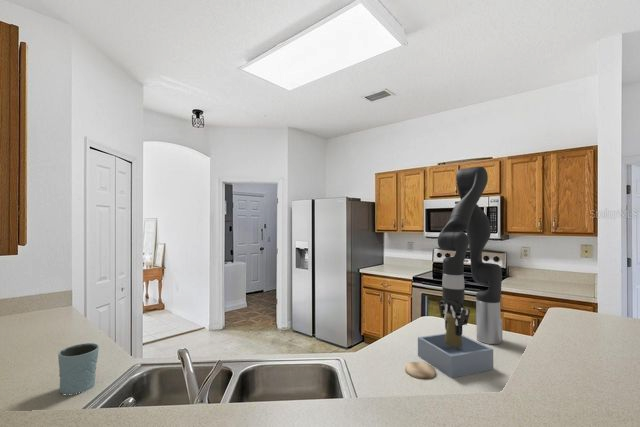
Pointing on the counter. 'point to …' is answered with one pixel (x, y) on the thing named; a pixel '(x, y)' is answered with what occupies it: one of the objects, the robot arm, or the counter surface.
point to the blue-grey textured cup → (77, 368)
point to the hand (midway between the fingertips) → (453, 332)
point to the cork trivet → (420, 370)
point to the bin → (455, 355)
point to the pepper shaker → (452, 332)
